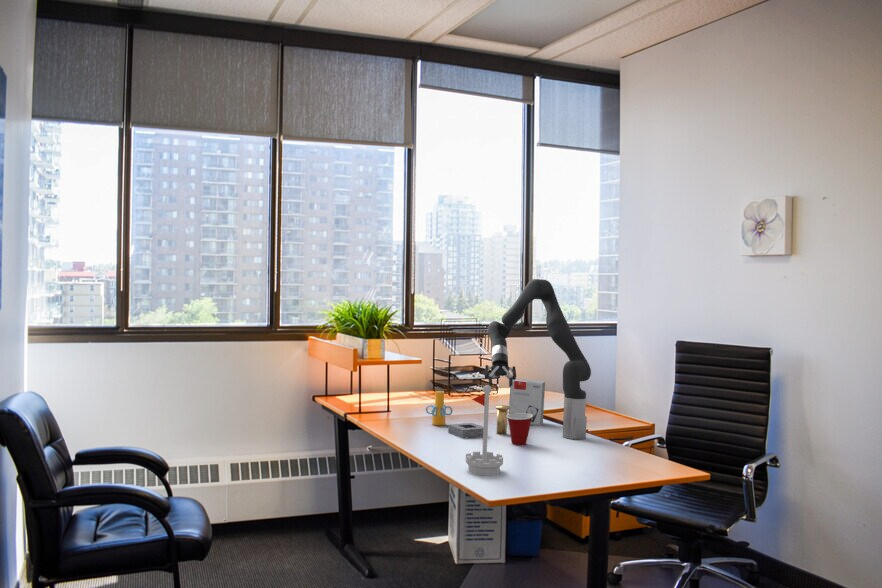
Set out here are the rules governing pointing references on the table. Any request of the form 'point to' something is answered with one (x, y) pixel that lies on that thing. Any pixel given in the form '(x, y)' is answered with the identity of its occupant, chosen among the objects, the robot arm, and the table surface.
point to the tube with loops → (439, 409)
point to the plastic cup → (519, 427)
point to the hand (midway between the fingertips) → (500, 385)
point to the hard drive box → (528, 399)
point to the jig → (466, 430)
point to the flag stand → (484, 445)
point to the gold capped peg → (502, 419)
